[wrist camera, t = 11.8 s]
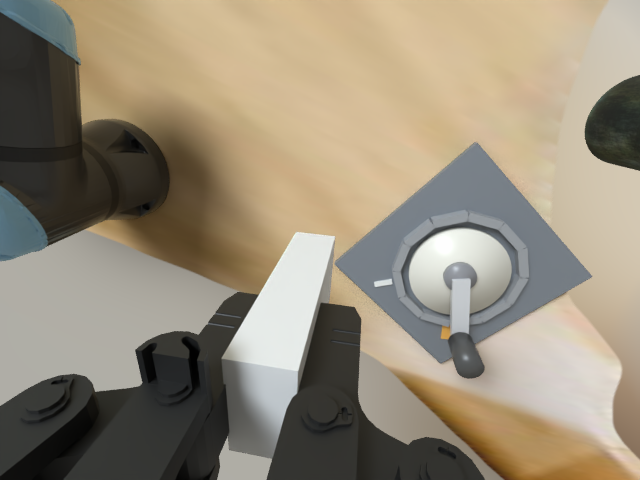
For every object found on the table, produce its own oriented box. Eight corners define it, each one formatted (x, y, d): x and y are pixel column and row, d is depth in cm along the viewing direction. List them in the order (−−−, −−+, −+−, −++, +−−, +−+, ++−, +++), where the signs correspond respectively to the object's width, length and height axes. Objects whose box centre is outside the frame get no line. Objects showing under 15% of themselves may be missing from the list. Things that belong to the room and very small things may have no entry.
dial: (406, 231, 46) (413, 256, 38) (511, 222, 43) (541, 248, 35) (411, 339, 53) (418, 378, 45) (501, 337, 50) (524, 379, 43)
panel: (439, 359, 55) (442, 369, 53) (335, 261, 51) (333, 268, 49) (588, 273, 45) (599, 281, 43) (475, 142, 41) (480, 144, 39)
